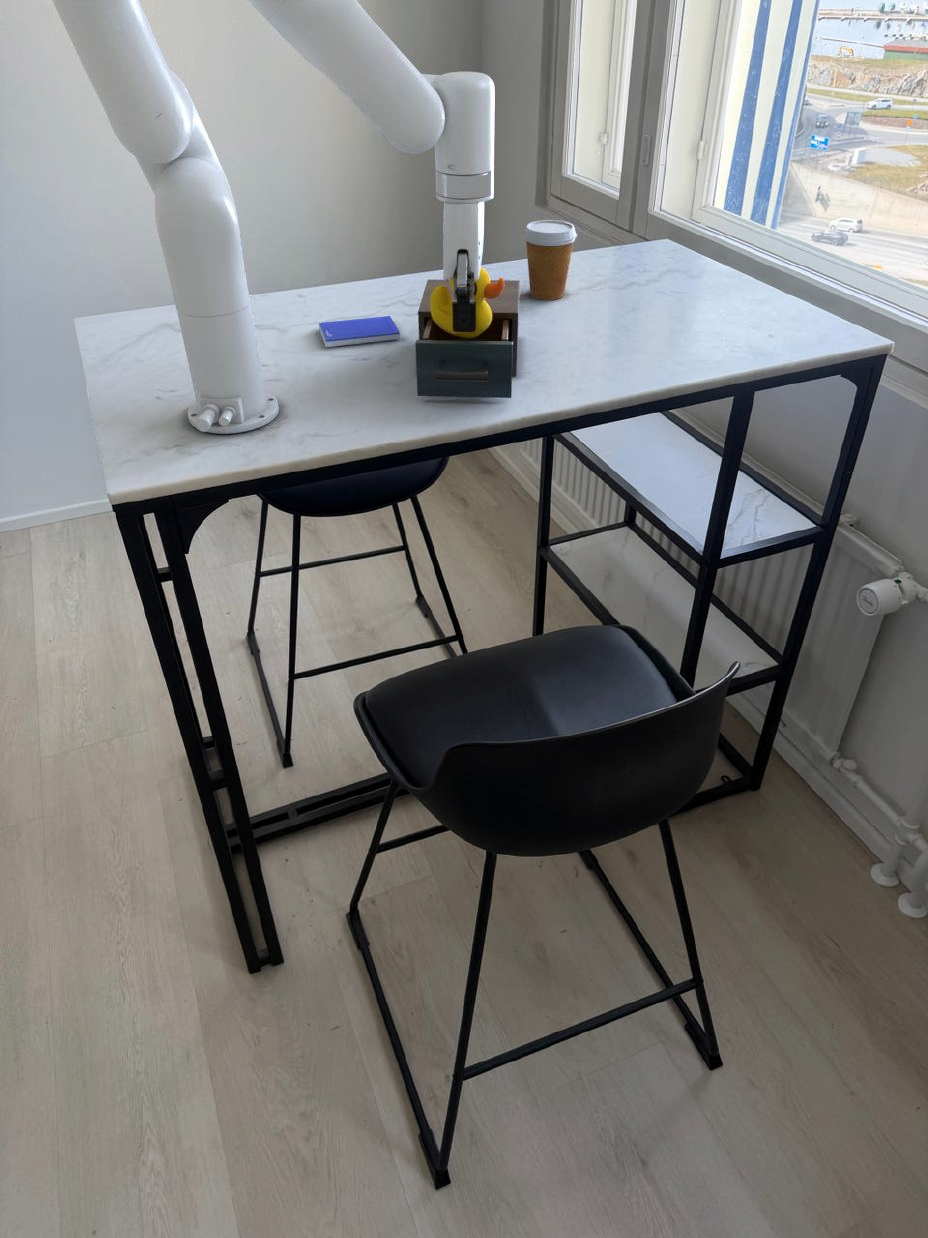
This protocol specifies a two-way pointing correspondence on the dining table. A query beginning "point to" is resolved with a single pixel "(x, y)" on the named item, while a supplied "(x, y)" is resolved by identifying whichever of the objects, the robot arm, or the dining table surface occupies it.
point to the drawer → (465, 362)
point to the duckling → (482, 290)
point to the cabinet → (500, 306)
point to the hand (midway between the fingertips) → (465, 321)
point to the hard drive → (358, 331)
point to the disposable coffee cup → (549, 257)
